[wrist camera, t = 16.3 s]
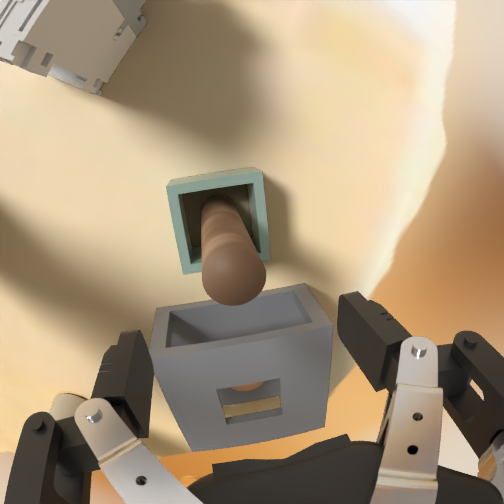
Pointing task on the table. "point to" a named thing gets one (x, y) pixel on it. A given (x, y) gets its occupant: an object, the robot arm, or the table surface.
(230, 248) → the brown rounded rod
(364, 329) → the robot arm
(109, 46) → the circuit breaker
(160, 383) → the gray open box frame
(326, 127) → the table surface
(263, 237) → the holder
